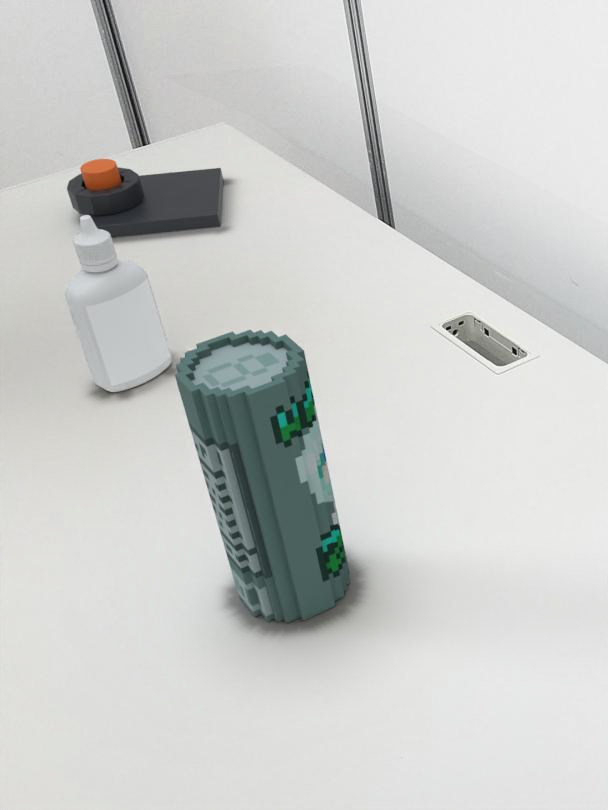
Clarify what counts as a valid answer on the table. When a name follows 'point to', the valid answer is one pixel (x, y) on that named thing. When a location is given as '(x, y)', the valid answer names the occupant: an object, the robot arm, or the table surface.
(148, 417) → the table surface
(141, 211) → the dark grey base plate
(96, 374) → the eye dropper bottle
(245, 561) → the can
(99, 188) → the button
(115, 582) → the table surface
